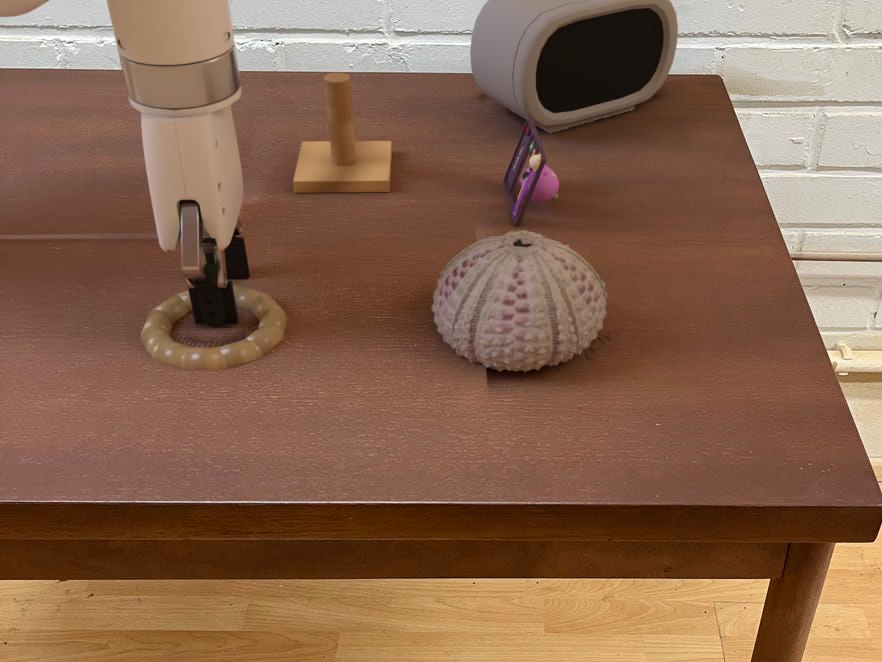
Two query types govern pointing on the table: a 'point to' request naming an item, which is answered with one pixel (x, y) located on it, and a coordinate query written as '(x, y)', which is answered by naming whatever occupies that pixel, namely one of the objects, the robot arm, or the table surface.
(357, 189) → the stand
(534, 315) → the sea urchin shell
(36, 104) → the table surface
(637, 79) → the alarm clock
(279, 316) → the ring
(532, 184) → the purple toy package
